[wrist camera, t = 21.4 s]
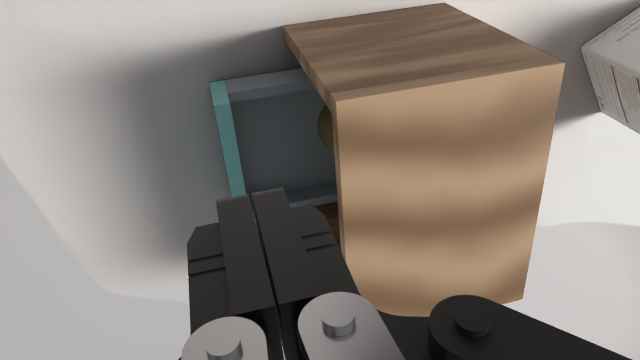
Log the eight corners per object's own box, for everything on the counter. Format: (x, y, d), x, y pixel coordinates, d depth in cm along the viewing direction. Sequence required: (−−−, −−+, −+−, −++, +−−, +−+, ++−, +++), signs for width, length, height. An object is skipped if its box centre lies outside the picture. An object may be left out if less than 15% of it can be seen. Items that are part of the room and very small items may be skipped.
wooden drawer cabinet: (282, 25, 42) (336, 101, 28) (444, 2, 44) (565, 62, 31) (304, 218, 52) (350, 341, 38) (434, 191, 54) (522, 299, 41)
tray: (209, 82, 42) (213, 105, 38) (408, 51, 45) (432, 69, 41) (233, 203, 49) (239, 234, 44) (406, 169, 51) (426, 196, 47)
